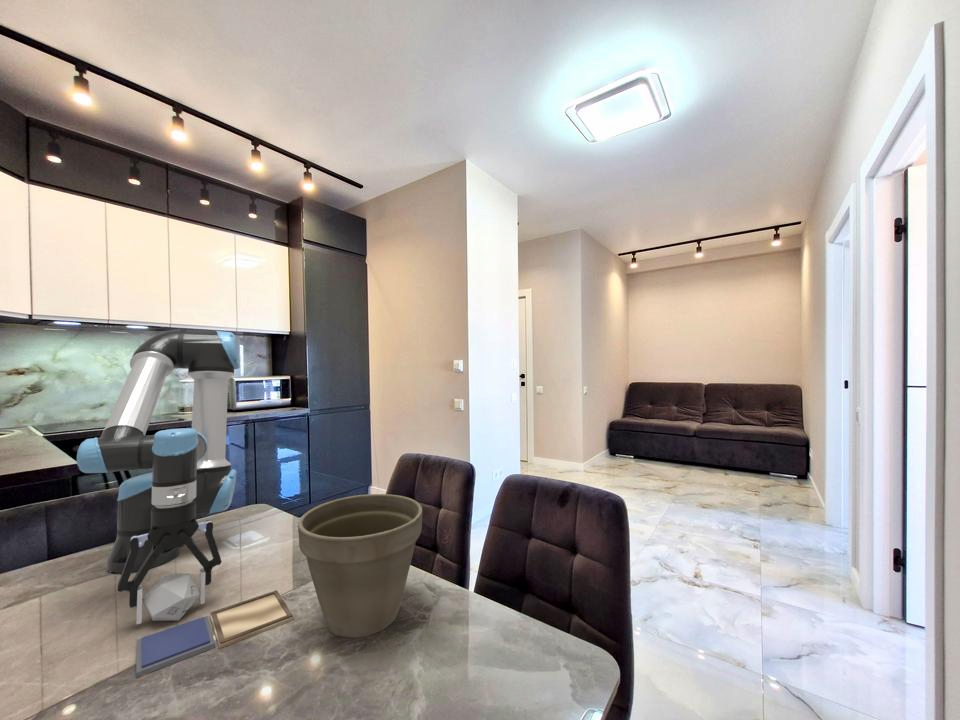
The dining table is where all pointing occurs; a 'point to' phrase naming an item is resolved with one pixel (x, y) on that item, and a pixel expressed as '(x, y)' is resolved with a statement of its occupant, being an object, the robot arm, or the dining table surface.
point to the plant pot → (360, 559)
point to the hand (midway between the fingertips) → (171, 610)
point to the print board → (249, 618)
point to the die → (171, 597)
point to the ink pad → (173, 645)
